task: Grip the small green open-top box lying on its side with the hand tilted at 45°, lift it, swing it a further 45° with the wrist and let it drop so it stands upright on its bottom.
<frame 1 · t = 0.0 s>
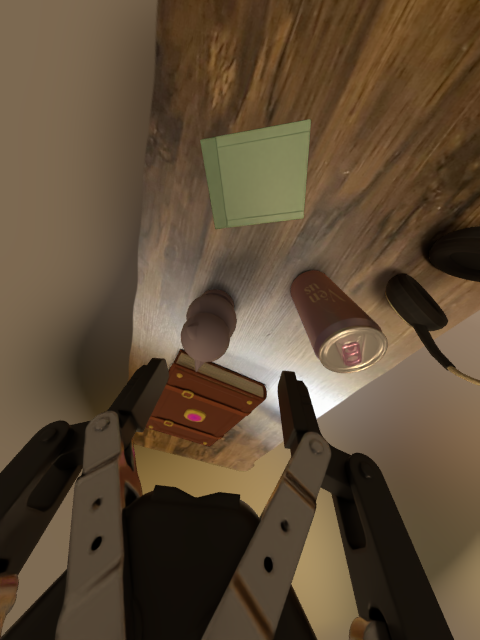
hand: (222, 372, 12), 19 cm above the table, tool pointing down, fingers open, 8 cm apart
book: (201, 399, 48), on the table
beverage can: (308, 286, 28), on the table
headphones: (417, 270, 26), on the table
green open-top box: (255, 190, 21), on the table
cat figurine: (217, 305, 31), on the table
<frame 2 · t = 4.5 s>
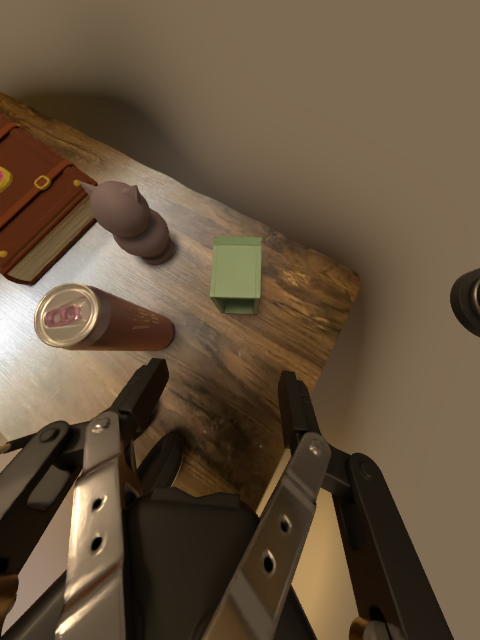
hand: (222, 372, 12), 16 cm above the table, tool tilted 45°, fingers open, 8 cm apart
book: (27, 204, 36), on the table
beverage can: (158, 333, 29), on the table
headphones: (154, 433, 26), on the table
green open-top box: (239, 291, 30), on the table
cat figurine: (157, 249, 32), on the table
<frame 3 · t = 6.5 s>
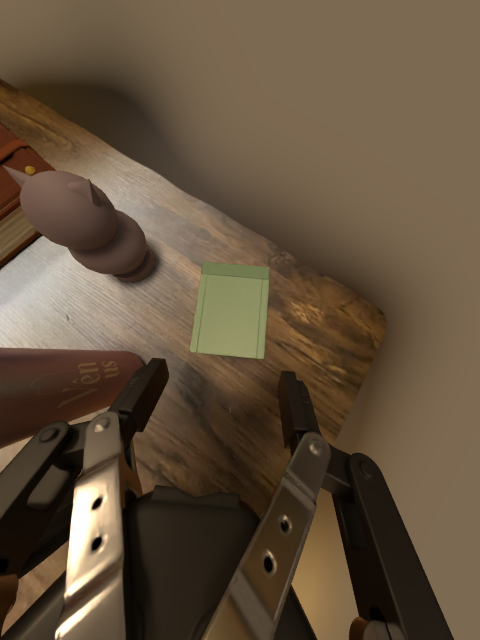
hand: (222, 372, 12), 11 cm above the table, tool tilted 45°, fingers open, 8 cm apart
beverage can: (125, 374, 22), on the table
headphones: (105, 519, 19), on the table
green open-top box: (235, 325, 23), on the table
cat figurine: (133, 263, 25), on the table
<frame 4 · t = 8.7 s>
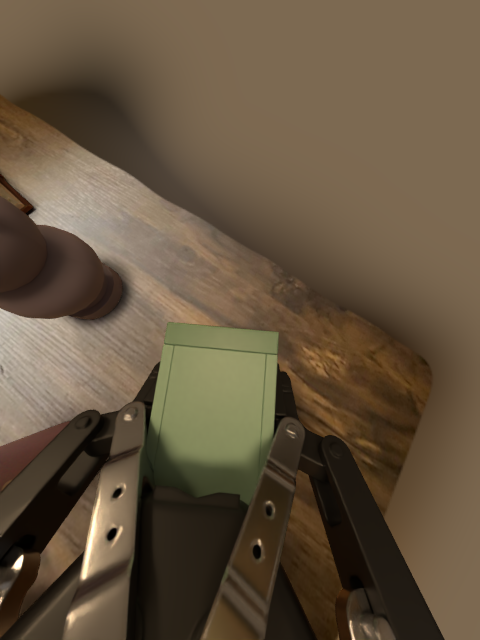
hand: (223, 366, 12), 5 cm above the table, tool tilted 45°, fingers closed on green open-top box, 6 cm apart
beverage can: (75, 452, 16), on the table
green open-top box: (227, 380, 17), on the table, touching gripper
cat figurine: (94, 292, 19), on the table
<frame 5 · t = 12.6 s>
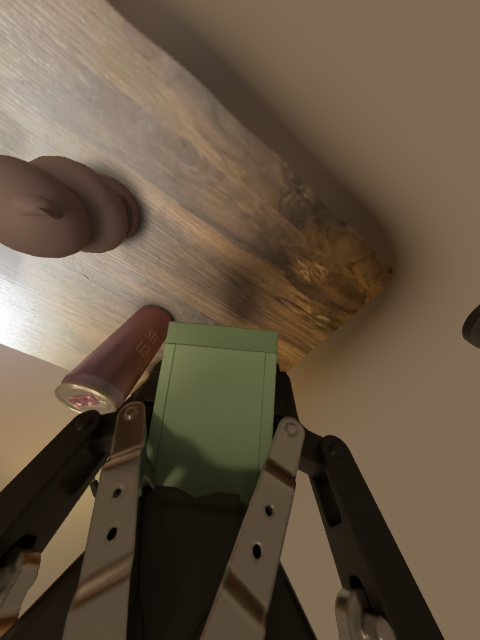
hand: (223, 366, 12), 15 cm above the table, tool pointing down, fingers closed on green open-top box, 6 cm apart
beverage can: (157, 318, 30), on the table
green open-top box: (227, 379, 17), point 13 cm above the table, tilted 45°, touching gripper
cat figurine: (113, 209, 21), on the table
when the fingers open (6 cm above the table, at t = 15.8 s): green open-top box moves 3 cm and tips over, point 4 cm above the table.
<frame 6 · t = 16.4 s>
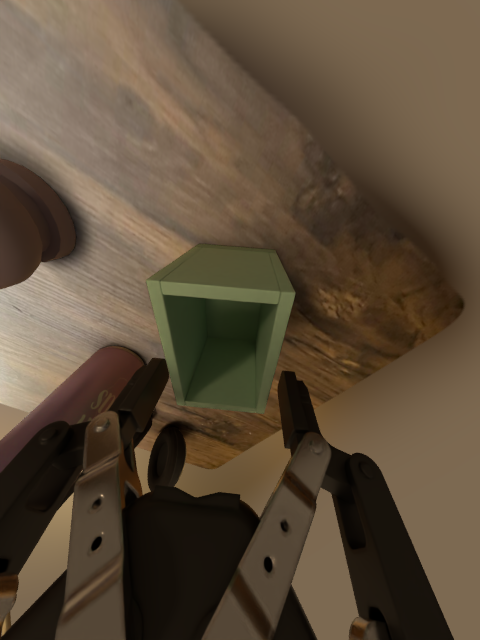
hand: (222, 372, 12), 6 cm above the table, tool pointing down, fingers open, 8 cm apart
beverage can: (124, 359, 22), on the table
headphones: (159, 421, 31), on the table
green open-top box: (227, 364, 15), point 4 cm above the table, tilted 90°
cat figurine: (33, 216, 13), on the table
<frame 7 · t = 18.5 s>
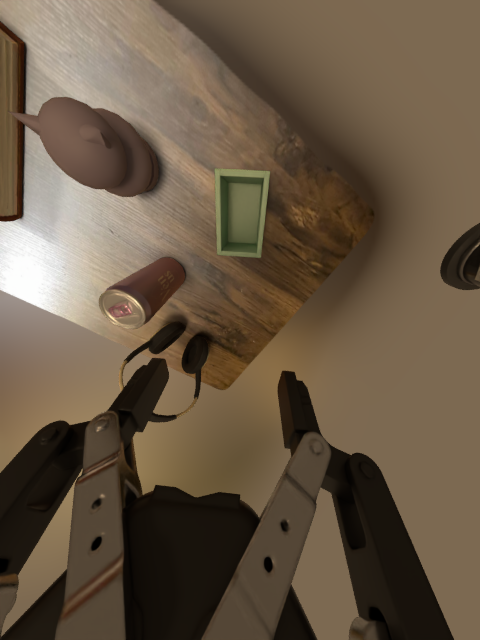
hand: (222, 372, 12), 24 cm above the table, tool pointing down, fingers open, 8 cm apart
beverage can: (171, 271, 34), on the table
headphones: (187, 334, 42), on the table
green open-top box: (240, 250, 27), point 4 cm above the table, tilted 90°
cat figurine: (137, 165, 25), on the table
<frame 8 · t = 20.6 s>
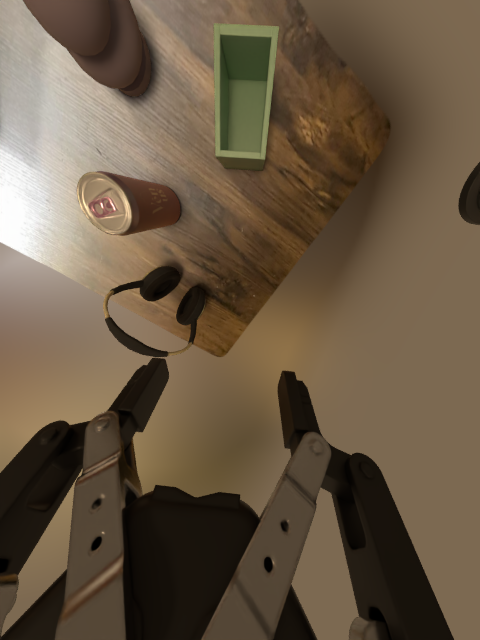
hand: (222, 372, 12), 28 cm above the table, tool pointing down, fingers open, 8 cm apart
beverage can: (165, 206, 31), on the table
headphones: (183, 287, 39), on the table
green open-top box: (242, 164, 24), point 4 cm above the table, tilted 90°
cat figurine: (126, 60, 22), on the table
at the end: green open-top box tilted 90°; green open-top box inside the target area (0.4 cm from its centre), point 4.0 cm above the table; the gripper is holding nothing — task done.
